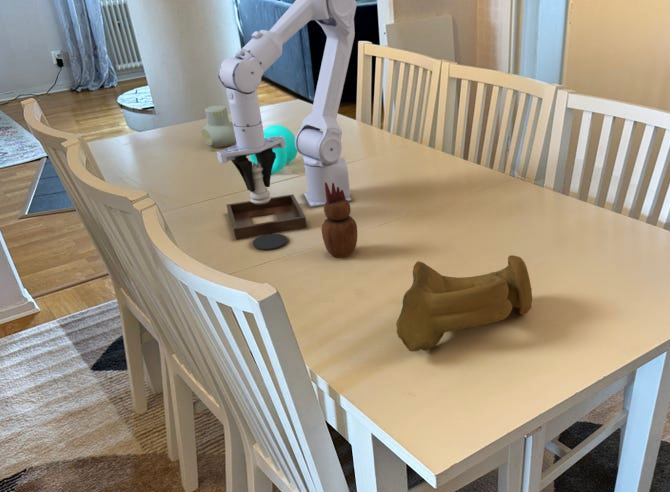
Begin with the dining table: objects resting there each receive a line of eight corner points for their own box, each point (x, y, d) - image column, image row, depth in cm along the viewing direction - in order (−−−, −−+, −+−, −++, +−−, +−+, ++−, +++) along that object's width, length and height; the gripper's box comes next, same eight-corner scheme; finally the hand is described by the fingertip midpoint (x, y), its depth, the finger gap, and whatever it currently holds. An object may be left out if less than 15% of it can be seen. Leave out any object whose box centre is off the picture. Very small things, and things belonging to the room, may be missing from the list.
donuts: (301, 162, 178) (296, 124, 173) (286, 176, 171) (281, 136, 165) (266, 160, 181) (260, 122, 175) (250, 174, 173) (243, 134, 167)
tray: (294, 204, 156) (293, 194, 155) (307, 227, 145) (305, 217, 144) (228, 214, 152) (226, 204, 151) (235, 239, 141) (233, 229, 140)
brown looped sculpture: (386, 259, 116) (513, 231, 115) (402, 331, 119) (526, 304, 119) (384, 280, 98) (535, 247, 97) (404, 364, 102) (549, 333, 101)
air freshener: (201, 143, 195) (193, 107, 189) (227, 136, 199) (221, 101, 193) (216, 152, 187) (209, 115, 182) (244, 145, 191) (238, 109, 186)
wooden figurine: (327, 262, 132) (318, 188, 123) (322, 249, 136) (313, 177, 128) (361, 257, 133) (355, 183, 124) (355, 244, 138) (349, 172, 129)
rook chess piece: (262, 195, 149) (255, 159, 144) (275, 199, 146) (269, 163, 142) (246, 202, 146) (239, 165, 141) (259, 206, 144) (253, 169, 139)
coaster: (284, 233, 143) (284, 231, 143) (290, 246, 138) (290, 245, 138) (250, 238, 142) (250, 236, 141) (255, 252, 136) (255, 250, 136)
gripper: (269, 111, 143) (279, 174, 151) (205, 126, 136) (218, 191, 143) (286, 118, 138) (295, 183, 146) (220, 134, 131) (234, 201, 139)
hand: (258, 188), depth 144 cm, fingers closed on rook chess piece, 3 cm apart
